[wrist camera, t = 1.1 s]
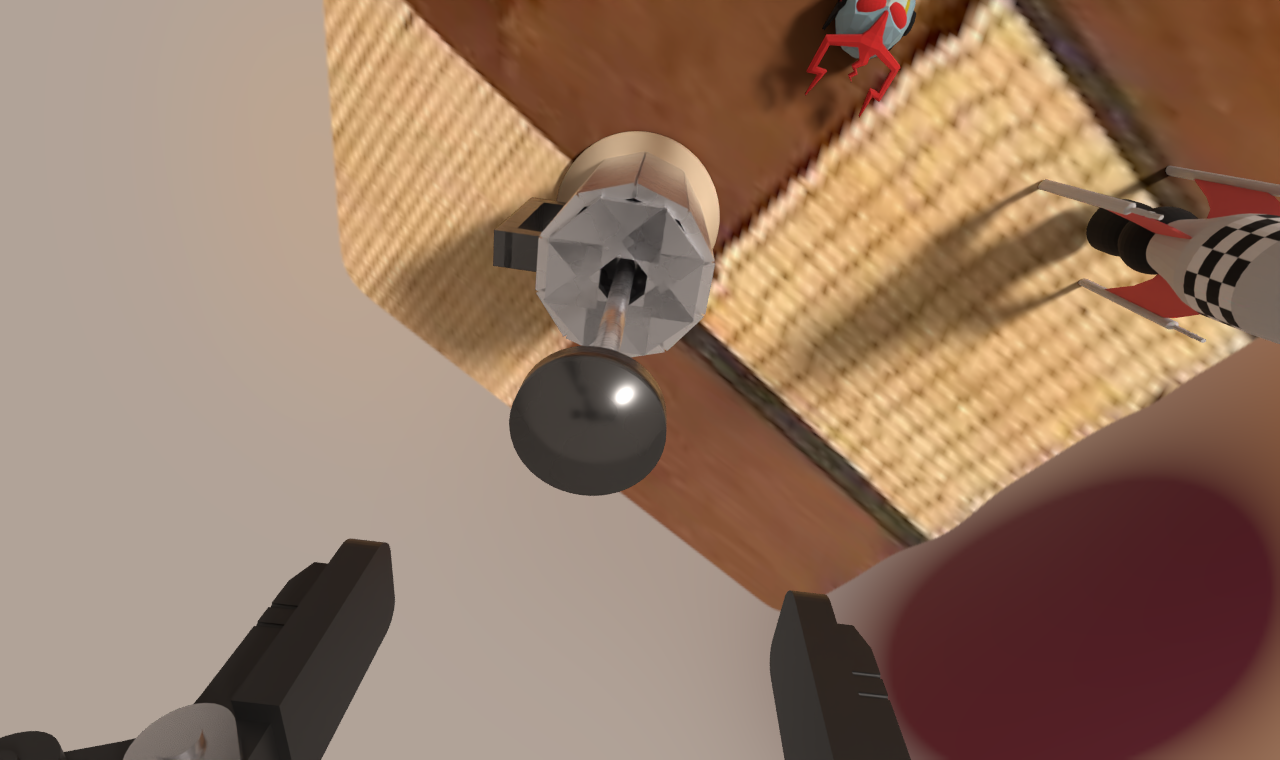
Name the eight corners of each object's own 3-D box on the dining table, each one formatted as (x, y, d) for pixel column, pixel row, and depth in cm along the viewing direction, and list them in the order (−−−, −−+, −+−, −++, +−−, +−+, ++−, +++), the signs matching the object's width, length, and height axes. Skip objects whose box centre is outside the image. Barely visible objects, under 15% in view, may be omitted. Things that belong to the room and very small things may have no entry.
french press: (534, 268, 47) (478, 346, 33) (542, 136, 43) (481, 163, 29) (687, 290, 47) (694, 377, 33) (710, 161, 43) (729, 199, 29)
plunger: (565, 308, 36) (476, 504, 19) (575, 196, 33) (480, 314, 16) (674, 324, 36) (678, 531, 19) (693, 213, 33) (716, 347, 17)
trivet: (551, 284, 48) (550, 286, 47) (563, 119, 43) (561, 119, 42) (703, 305, 48) (703, 308, 48) (733, 144, 43) (734, 145, 42)
